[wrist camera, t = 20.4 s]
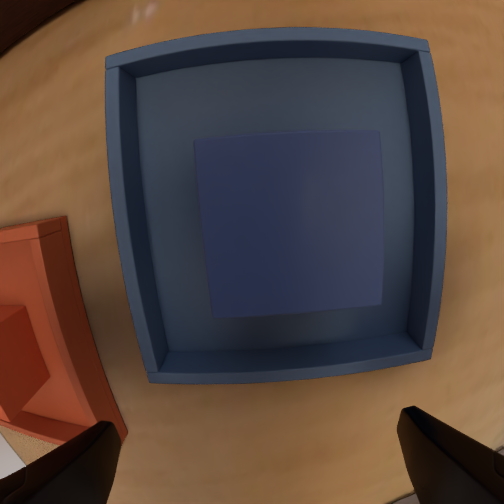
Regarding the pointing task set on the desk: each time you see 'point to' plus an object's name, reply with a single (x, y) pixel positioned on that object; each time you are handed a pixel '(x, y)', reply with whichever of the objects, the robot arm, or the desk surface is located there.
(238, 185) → the slate-blue block
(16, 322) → the terracotta block
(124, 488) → the desk surface
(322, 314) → the slate-blue tray
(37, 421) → the terracotta tray
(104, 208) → the desk surface
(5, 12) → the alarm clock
